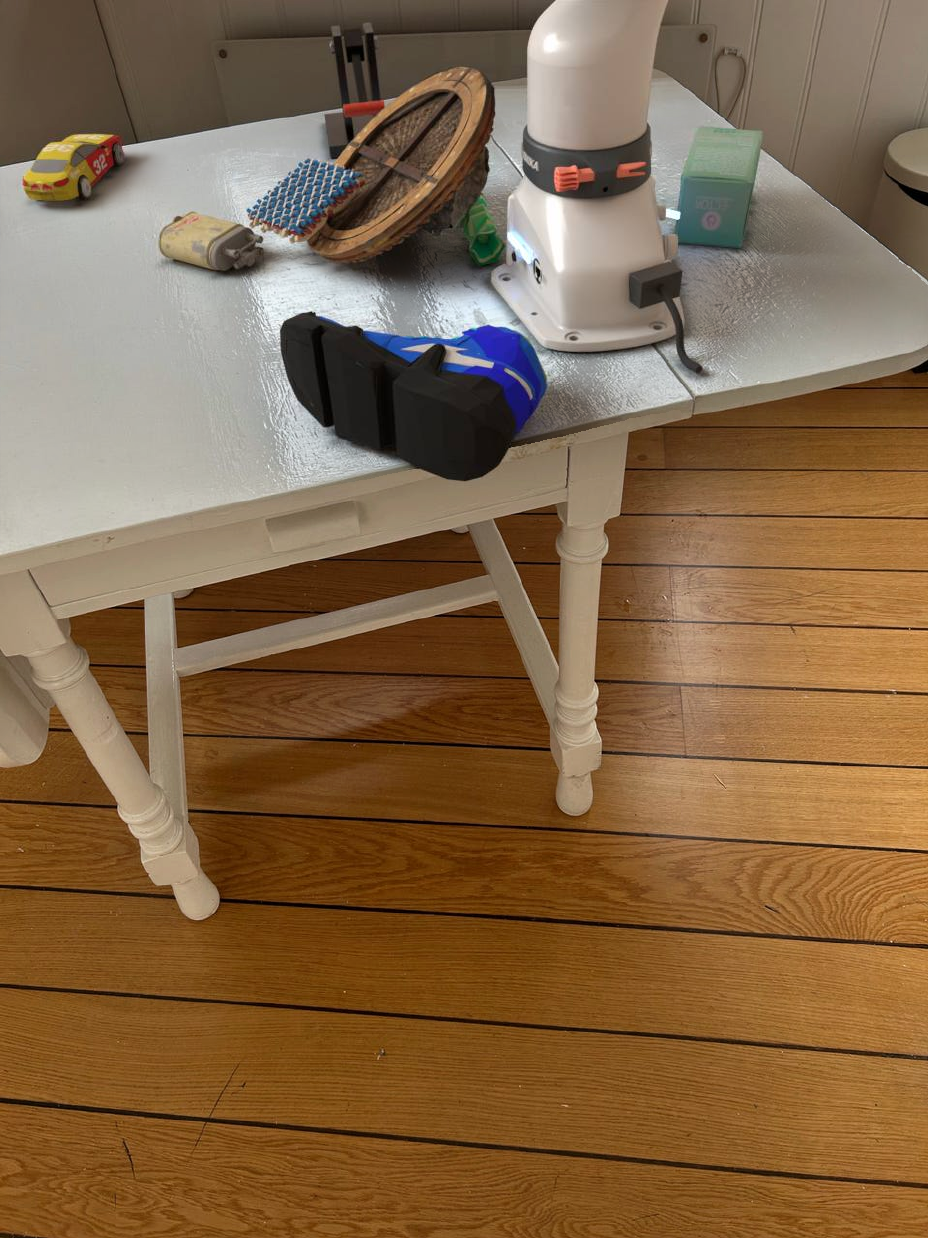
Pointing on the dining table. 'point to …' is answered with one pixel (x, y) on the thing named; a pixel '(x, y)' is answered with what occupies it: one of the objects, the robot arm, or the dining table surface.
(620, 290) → the robot arm
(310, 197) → the woven mat
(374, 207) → the round wicker shield
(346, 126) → the bracket
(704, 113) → the dining table surface
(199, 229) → the lighter
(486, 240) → the candy
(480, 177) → the rock
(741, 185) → the box
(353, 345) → the sneaker
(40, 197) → the toy car
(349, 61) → the lever
